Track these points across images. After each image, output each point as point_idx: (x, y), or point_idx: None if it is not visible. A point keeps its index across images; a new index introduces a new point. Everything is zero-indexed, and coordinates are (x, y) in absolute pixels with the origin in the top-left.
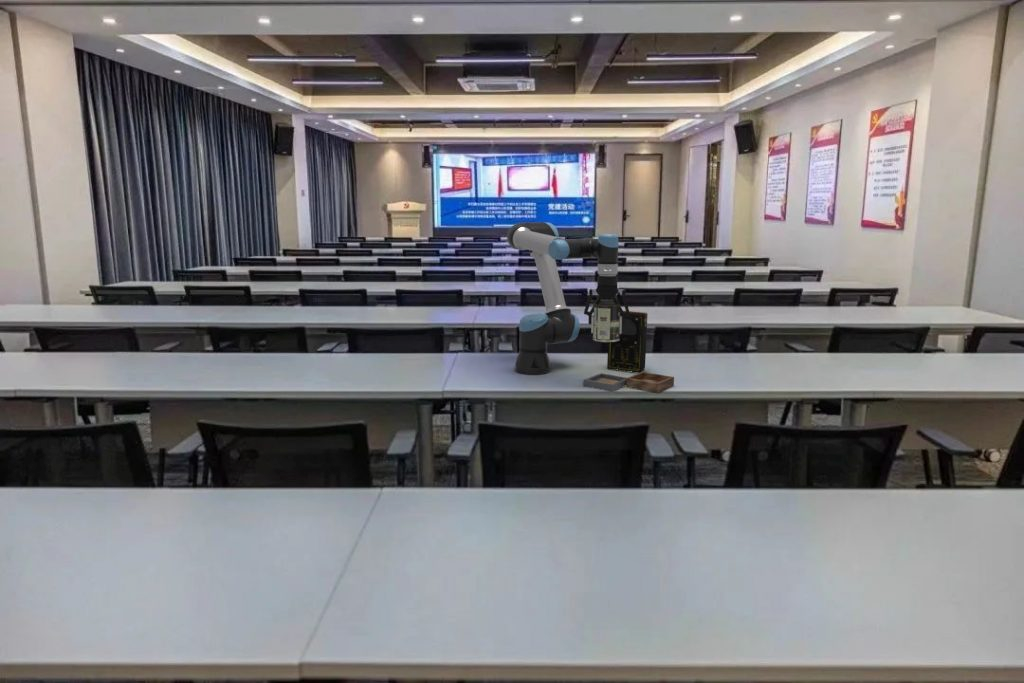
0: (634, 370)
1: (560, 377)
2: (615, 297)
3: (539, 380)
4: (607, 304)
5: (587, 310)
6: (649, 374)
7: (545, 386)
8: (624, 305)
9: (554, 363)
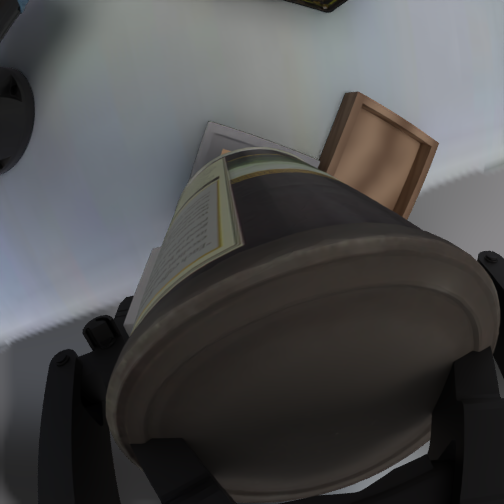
0: (309, 2)
1: (79, 156)
2: (500, 436)
3: (44, 218)
4: (337, 444)
5: (105, 422)
6: (378, 113)
7: (84, 269)
8: (499, 365)
9: (29, 9)
